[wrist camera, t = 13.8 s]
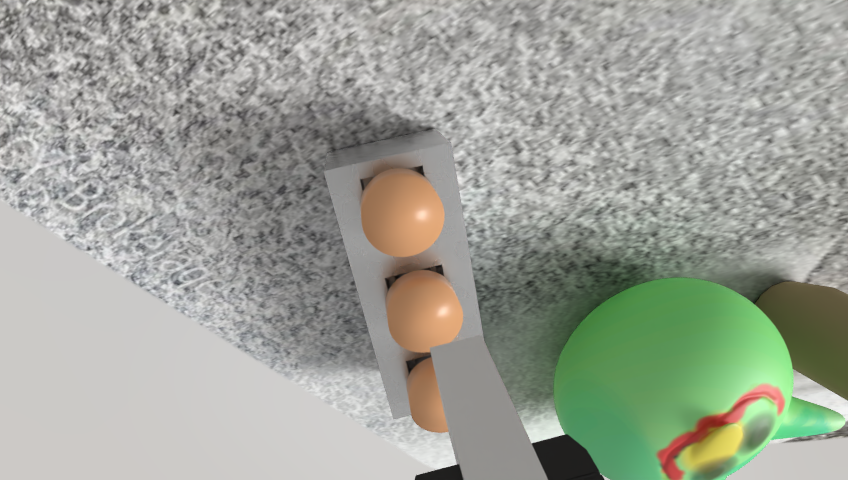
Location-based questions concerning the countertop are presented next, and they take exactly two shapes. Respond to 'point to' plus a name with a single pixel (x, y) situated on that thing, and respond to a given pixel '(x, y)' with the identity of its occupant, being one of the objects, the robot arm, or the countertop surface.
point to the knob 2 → (425, 396)
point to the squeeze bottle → (812, 330)
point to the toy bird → (679, 383)
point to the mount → (377, 270)
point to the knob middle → (423, 310)
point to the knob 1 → (401, 212)
